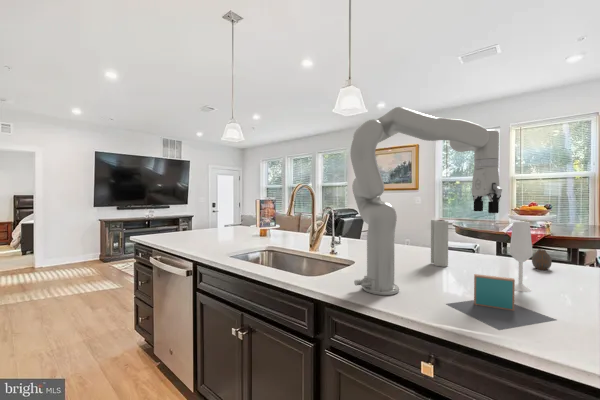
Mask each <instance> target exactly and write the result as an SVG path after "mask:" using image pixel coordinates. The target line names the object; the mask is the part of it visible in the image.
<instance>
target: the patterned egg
mask: <svg viewBox="0 0 600 400" xmlns="http://www.w3.org/2000/svg"><path fill="white" fill-rule="evenodd" d="M531 264H532V266H533V267H534V268H535V269H536V268H537V270H541V271H547V270H548V269H550V268H551V266H552V257H551V256H550V254H549V253H548V252H547V251H546V249H543V248H538V250H537V251H535V252H534V253H533V255H532V256H531Z"/></svg>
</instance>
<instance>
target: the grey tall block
mask: <svg viewBox="0 0 600 400" xmlns="http://www.w3.org/2000/svg"><path fill="white" fill-rule="evenodd" d="M430 264H434V266H436V267H448V266H449V220H444V219H431V220H430Z"/></svg>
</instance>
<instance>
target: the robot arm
mask: <svg viewBox="0 0 600 400" xmlns="http://www.w3.org/2000/svg"><path fill="white" fill-rule="evenodd" d="M399 133H400V134H402V135H406V136H409V137H413V138H416V139H419V140H421V141H427V142H428V141H431V142H434V141H435V142H436V141H437V142H438V141H449V145H450V146H449V147H451V149H452V150H453V151H456V152H459V153H460V152H461V153H464V152H472V151H474V153H473V154H474V155H473V157H474V158H473V164H474V165H473V175H472V181H471V182H472V183H471V195H472V200H473V212H483V211H484V200H483V199H484V197H487V198H488V200H489V201H488V205H487V208H488V209H487V211H488V212H487V213H488V214H498V213H499V212H500V211H499V209H500V207H499V206H500V205H499V202H500V200H501V199H500V198H501V197H502V192H503V188H502V187H500V175H499V168H500V167H499V165H500V164H499V163H500V162H499V161H500V159H499V155H500V154H499V153H500V152H499V151H500V132H499V131H498V130H497V129H486V127H484V126H482V125H480V124H477V123H474V122H471V121H468V120H464V119H459V118H458V119H457V118H449V117H439V116H438V117H435V116H432V115H429V114H425V113H423V112H419V111H416V110H413V109H411V108H407V107H403V106H398V107H396V106H395V107H393V108H392V109H391V110H390V109H389V111H388V112H387V113H385V114H383V115H382V116H380V117H379V118H376V119H369V120H366V121H365V122H363V123H362V124H361V125H360V126H358V128H357V129H356V130H355V131H354V133H353V136H352V137H353V139H352V142H351V145H350V151H349V153H350V160H351V165H352V169H353V173H354V176H355V178H354V180H353V182H352V193H353V197H354V200H355V204H356V206H357V210H358V212H359V216H360V217H361V219H362V221H363V222H364V223H366V224H367V227H368V228H367V235H366V275H364V277H363V278H362V279H354V283H353V284H354V286H361V287H362V289H363V291H365V292H366V293H370V294H373V295H379V296H391V295H395V294H398V293H399V292H400V287H399V286H398V285H397V284H395V239H396V238H395V235H396V226H397V222H398V221H397V217H398V216H397V212H396V209H395V207H393V206H392V205H391V203H389V202H388V201H382V199H381V196H382V195H383V194H384V191H385V182H384V179H383V177H382V174H381V170H380V167H379V165H378V160H377V156H376V150H377V145H378V144H380V143H381V142H383V141H385V140H388V139H389V138H391V137H393V136H394V135H397V134H399Z"/></svg>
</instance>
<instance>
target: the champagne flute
mask: <svg viewBox="0 0 600 400" xmlns="http://www.w3.org/2000/svg"><path fill="white" fill-rule="evenodd" d="M508 252H509V254H510V256H511V257H512V258H513V259H514V260H515V261H516V262H518V277H517V278H518V283H515V292H516V291H517V292H523V293H531V292H533V290H532V289H531V288H530V287H528V286H526V285H525V284H523V283H524V282H523V272H524V271H523V270H524V268H523V267H524V265H523V264H524V262H525V263H526V261H528V260H529V259H531V258H532V257H533V255H534V253H533V243H532V232H531V222H530V221H521V220H519V221H513V222H512V229H511V236H510V246H509V251H508Z"/></svg>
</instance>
